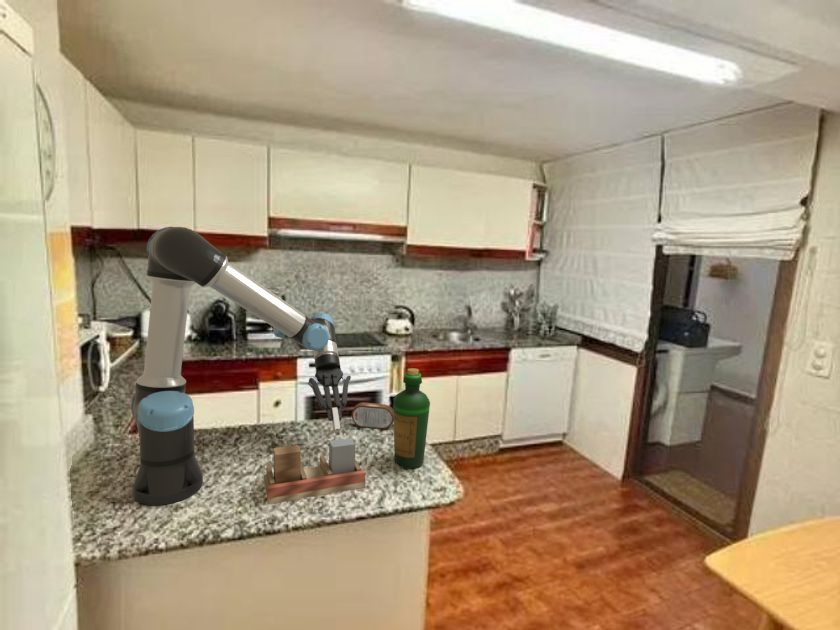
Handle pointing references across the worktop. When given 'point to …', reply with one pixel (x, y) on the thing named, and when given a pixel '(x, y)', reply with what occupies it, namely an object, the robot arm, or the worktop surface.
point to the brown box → (287, 464)
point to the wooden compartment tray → (312, 483)
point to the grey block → (342, 456)
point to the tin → (373, 415)
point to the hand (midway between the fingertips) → (336, 430)
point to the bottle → (410, 422)
